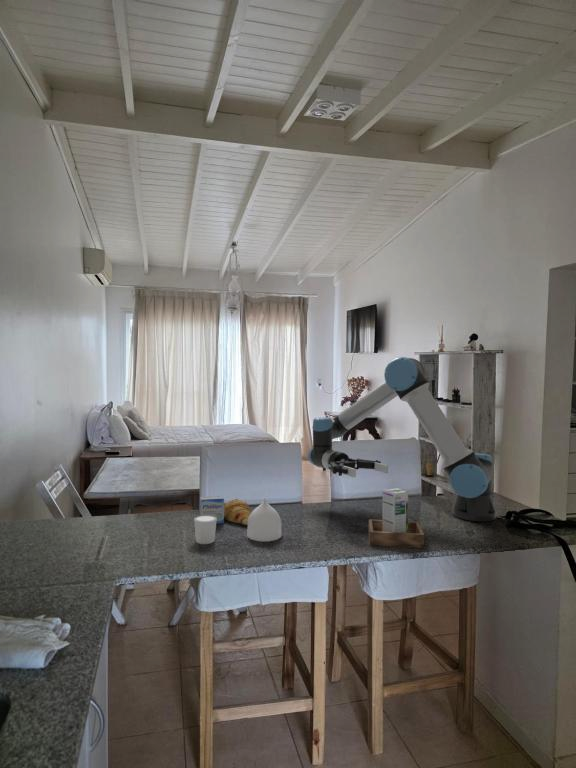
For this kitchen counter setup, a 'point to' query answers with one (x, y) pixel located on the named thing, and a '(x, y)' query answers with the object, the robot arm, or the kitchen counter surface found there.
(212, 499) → the medicine box
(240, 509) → the croissant
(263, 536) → the teardrop
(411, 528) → the serving tray
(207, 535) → the shot glass
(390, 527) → the syrup box
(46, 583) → the kitchen counter surface
